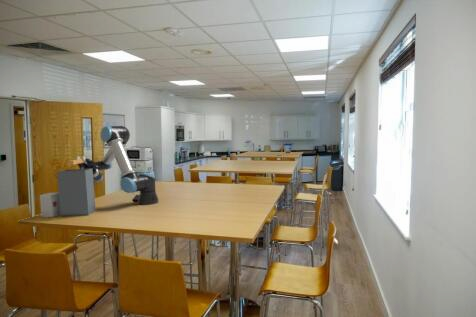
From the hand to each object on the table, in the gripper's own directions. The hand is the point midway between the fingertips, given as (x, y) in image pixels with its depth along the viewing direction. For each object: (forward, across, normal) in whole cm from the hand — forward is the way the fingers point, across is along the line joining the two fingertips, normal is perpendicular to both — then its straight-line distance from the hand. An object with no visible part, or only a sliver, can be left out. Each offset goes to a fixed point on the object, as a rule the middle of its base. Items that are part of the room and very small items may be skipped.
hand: (80, 157), depth 232 cm
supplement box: (-9, +17, -39) cm, 43 cm away
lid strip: (+1, 0, -5) cm, 5 cm away
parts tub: (-10, 0, -38) cm, 39 cm away
